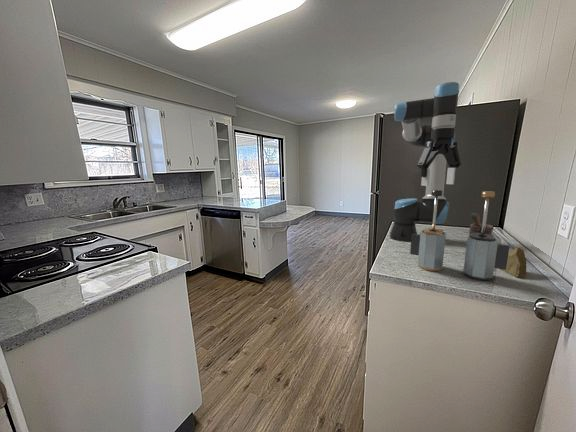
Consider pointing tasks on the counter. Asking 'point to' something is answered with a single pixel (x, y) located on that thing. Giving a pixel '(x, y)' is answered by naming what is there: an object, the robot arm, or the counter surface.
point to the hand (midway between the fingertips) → (437, 185)
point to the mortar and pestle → (479, 226)
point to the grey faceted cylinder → (429, 249)
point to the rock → (516, 263)
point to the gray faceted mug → (484, 256)
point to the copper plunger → (435, 206)
